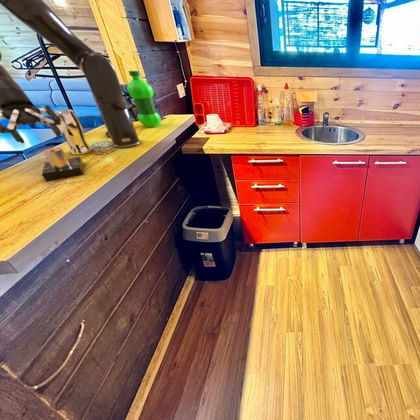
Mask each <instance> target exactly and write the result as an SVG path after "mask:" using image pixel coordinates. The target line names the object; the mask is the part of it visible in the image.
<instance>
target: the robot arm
mask: <svg viewBox="0 0 420 420" xmlns="http://www.w3.org/2000/svg"><path fill="white" fill-rule="evenodd" d="M0 6H2V7H3V8H4V9H5V10H6V11H7V12H9V14H11V15H12V16H14V17H15V18H16V19H18V21H20V22H21V23H23V24H24V25H25V26H27V28H29V29H30V30H32V32H34V33H36V34H37V35H39V36H40V37H41V38H42V39H44V40H46V41H47V42H49V43H50V44H51V45H52V46H53V47H55V48H57V50H59V51H60V52H61V53H62V54H64V56H65V57H66V58H67V59H69V60H70V61H71V62H72V63H73V64H74V65H75V66H76V67H77V68H78V69H79V70H80V71H81V73H82V74H83V75H84V77H85V79H86V81H87V84H88V86H89V88H90V92H91V95H92V98H93V100H94V102H95V105H96V107H97V110H98V112H99V114H100V116H101V119H102V121H101V122H100V125H104V126H105V128H106V130H107V131H106V132H105V134H104V135H105V136H106V137H108V138H110V140H111V142H112V145H113V147H114V148H121V149H122V148H130V147H135V146H137V145H140V143H141V140H140V139H139V137H138V133H137V130H136V127H135V125H134V122H133V119H132V116H131V113H130V111H129V108H128V106H127V103H126V100H125V98H124V93H123V89H122V86H121V84H120V83H121V82H120V81H119V77H118V75H117V72H116V69H115V67H114V65H113V63H112V62H111V61H110V60H109V58H107V57H105V56H103V55H102V54H100V53H98V52H96V51H94V49H92V48H91V47H90V46H88V45H87V44H86V43H85V42H83V40H81V39H80V38H79V37H78V36H76V35H75V34H74V33H73V31H72V30H70V28H69V27H68V26H67V25H66V24H65V23H64V21H63V20H62V19H61V18H60V17H59V16H58V15H57V13H56V12H55V11H54V10H53V9H52V8H51V7H50V6H49V5H48V4H47V3H46V2H45V1H44V0H0ZM2 58H3V56H2V52H1V51H0V62H1V61H2ZM0 111H1V112H0V134H10V135H11V137H12V138H13V139H14V140H15V142H17V143H20V144H25V142H26V141H25V140H24V138H23V136H21V134H20V133H19V131H18V129H19V127H20V125H22V126H26V125H31V124H32V125H35V124H37V123H38V124H40V125H43V126H47V127H50V129H51V131H52V132H53V134H54V135H55V136H56V138H60V137H61V136H62V135H61V131H60V130H59V128H58V127H57V125H61V122H60V118H59V117H58V116H57V115H56V114H55V113H54V111H55V110H53V109H52V107H51V106H50V105H44V107H39V108H38V107H37V106H35V104H34V103H33V102H32V101H31V99H30V98H29V97H28V95H27V94H26V92H25V91H24V90H23V89H22V87H21V86H20V85H19V84H18V83H17V82H16V80H15V79H14V78H13V77H12V75H11V74H10V73H9V71H8V70H7V69H6V68H5V67H4V66H3V64H2V65H1V64H0ZM43 114H44V115H43ZM45 115H46V116H49V117H50V118H48V117H46V116H45ZM3 118H4V119H6V120H8V124H7V126H4V125H3V124H2V122H1V121H3Z"/></svg>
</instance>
